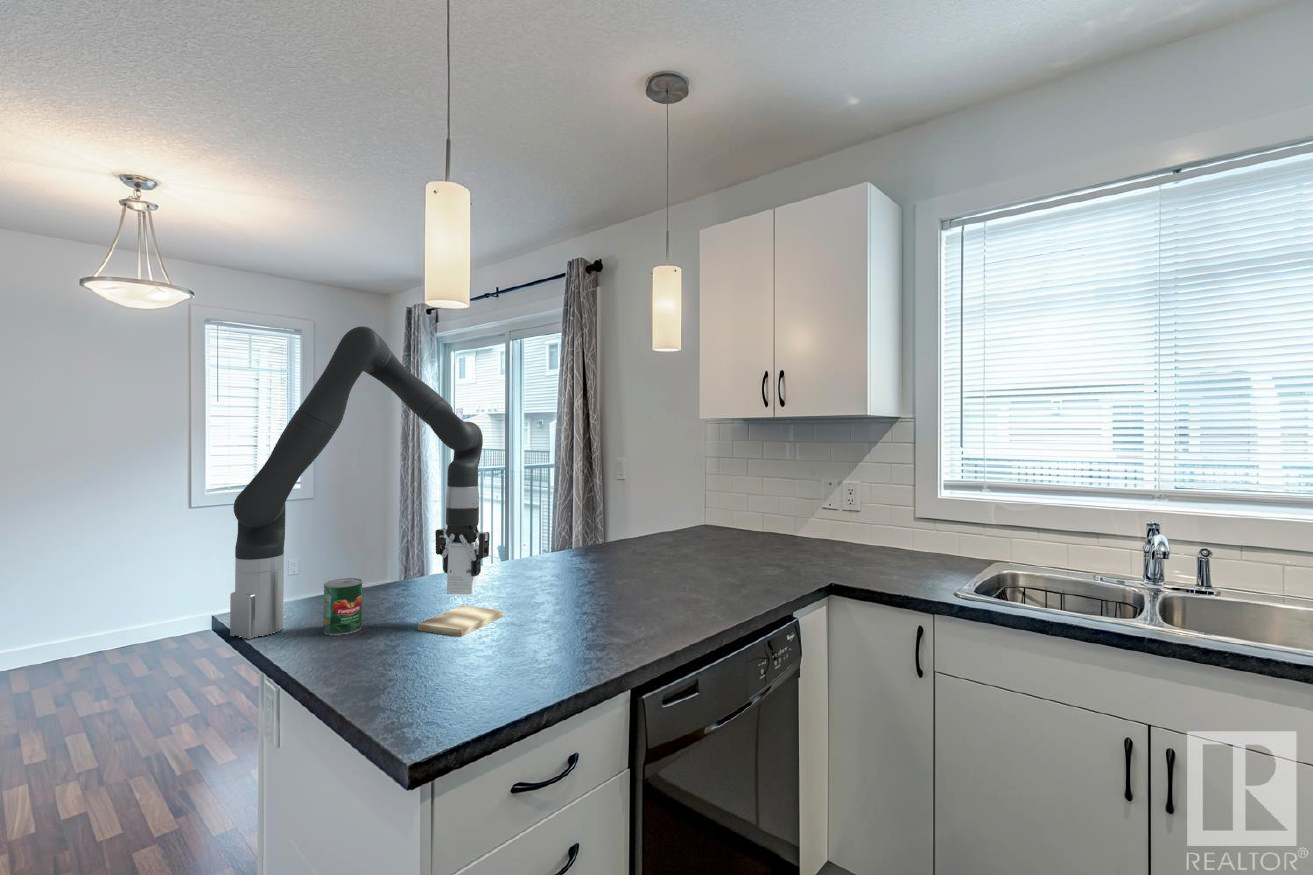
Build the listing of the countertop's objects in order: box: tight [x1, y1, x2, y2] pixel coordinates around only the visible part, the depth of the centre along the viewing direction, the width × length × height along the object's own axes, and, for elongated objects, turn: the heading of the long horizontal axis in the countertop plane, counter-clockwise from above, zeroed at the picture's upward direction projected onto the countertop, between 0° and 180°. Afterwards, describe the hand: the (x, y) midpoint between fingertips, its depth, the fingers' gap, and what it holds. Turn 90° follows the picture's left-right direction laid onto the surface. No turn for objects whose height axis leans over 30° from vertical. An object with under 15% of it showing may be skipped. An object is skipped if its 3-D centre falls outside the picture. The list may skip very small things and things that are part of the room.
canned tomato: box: [323, 577, 363, 636], centre depth 140 cm, size 8×8×11 cm
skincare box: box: [446, 542, 476, 595], centre depth 146 cm, size 6×4×12 cm
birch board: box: [417, 605, 504, 637], centre depth 146 cm, size 16×12×2 cm
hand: (461, 574), depth 146 cm, fingers closed on skincare box, 7 cm apart
